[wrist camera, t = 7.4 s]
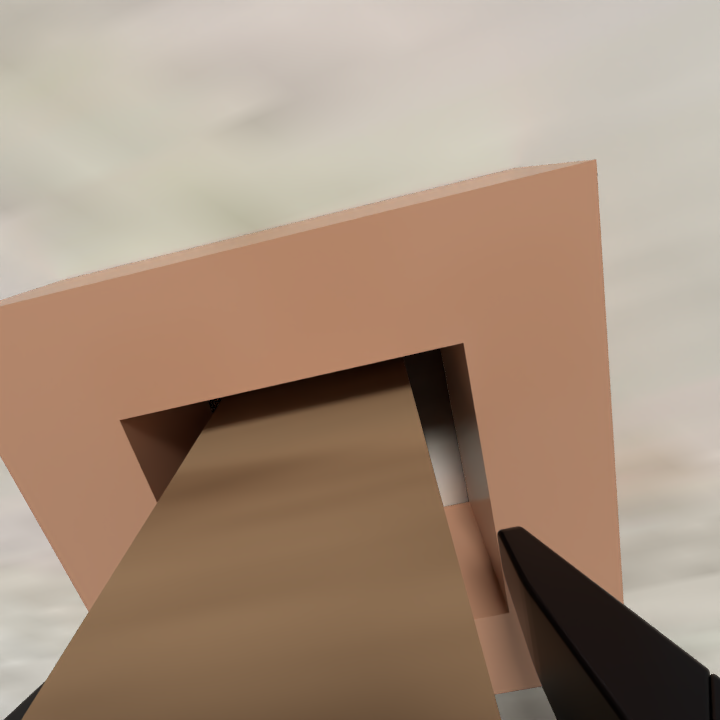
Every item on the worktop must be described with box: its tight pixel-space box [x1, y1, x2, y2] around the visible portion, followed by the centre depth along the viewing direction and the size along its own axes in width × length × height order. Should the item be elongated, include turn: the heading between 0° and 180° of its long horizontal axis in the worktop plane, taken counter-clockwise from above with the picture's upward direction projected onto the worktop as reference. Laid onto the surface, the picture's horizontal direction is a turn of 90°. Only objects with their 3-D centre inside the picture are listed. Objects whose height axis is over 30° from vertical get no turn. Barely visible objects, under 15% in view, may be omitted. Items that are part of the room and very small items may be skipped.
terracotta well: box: [0, 159, 624, 695], centre depth 12 cm, size 12×12×4 cm
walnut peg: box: [22, 357, 501, 720], centre depth 9 cm, size 4×4×10 cm
